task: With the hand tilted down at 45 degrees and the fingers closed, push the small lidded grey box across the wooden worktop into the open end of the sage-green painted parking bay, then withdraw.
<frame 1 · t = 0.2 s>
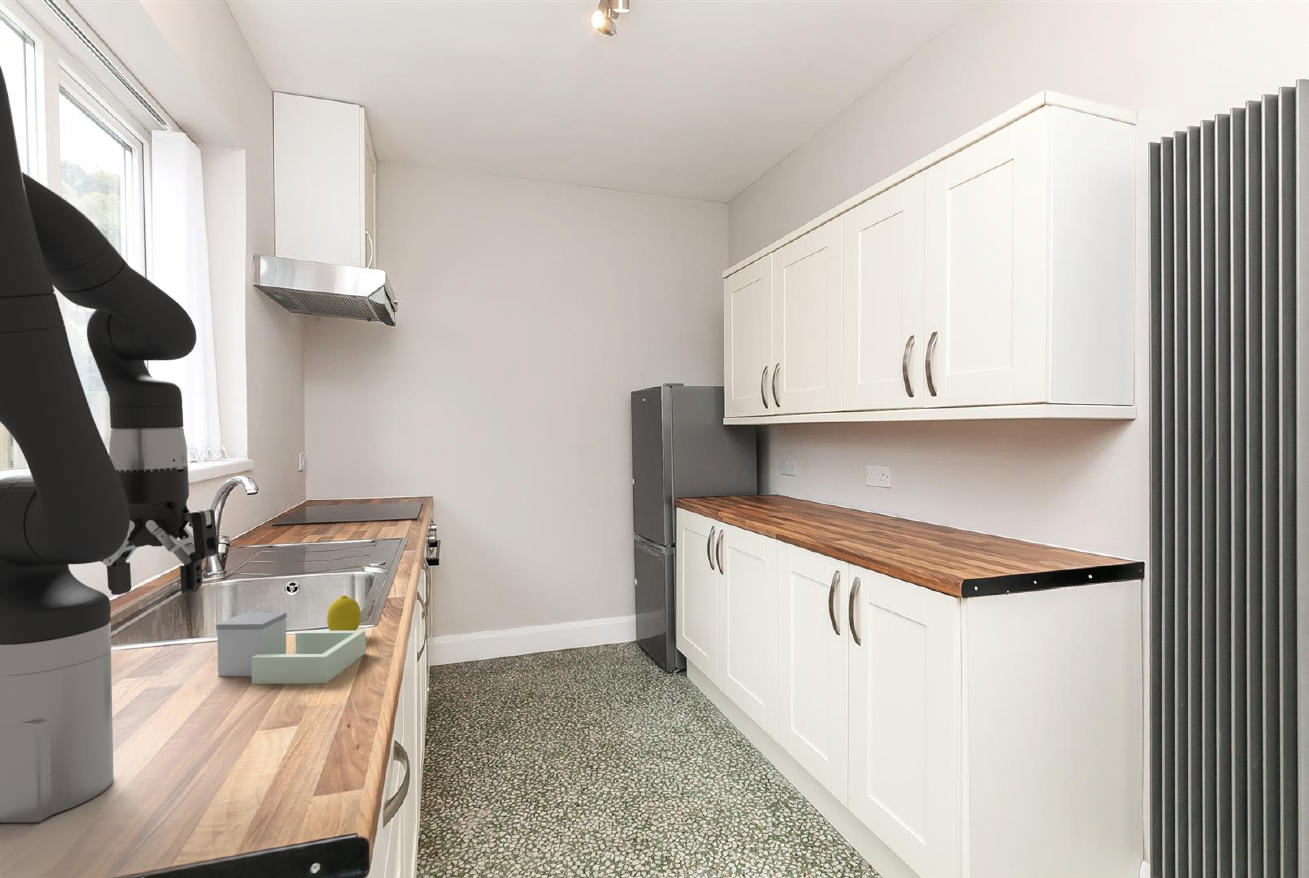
hand: (156, 592, 78), 17 cm above the counter, tool pointing down, fingers open, 8 cm apart
bay: (312, 668, 99), on the counter
lidded grey box: (253, 668, 99), on the counter
lemon: (344, 640, 113), on the counter
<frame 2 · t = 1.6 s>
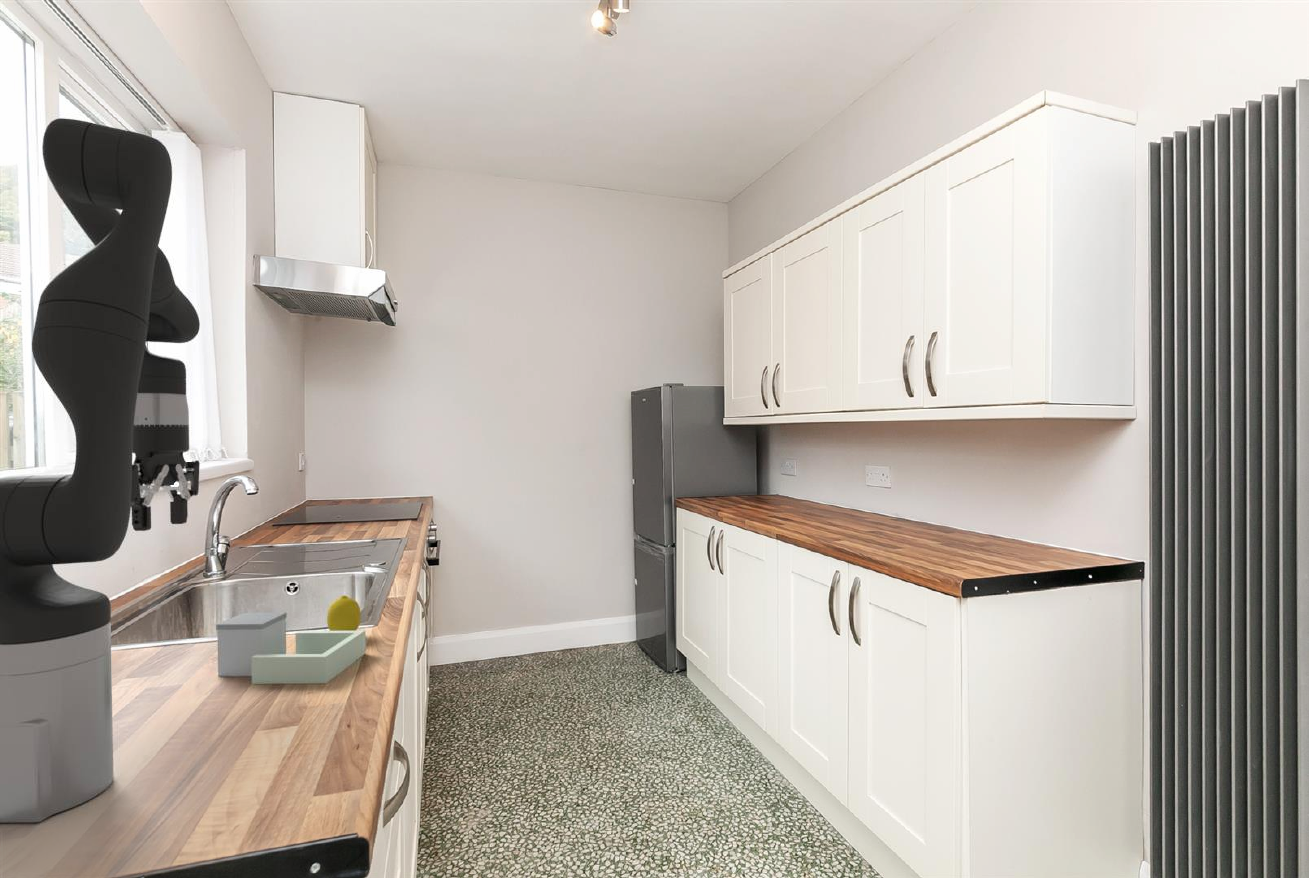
hand: (161, 526, 99), 23 cm above the counter, tool pointing down, fingers open, 6 cm apart
nothing on the counter moved.
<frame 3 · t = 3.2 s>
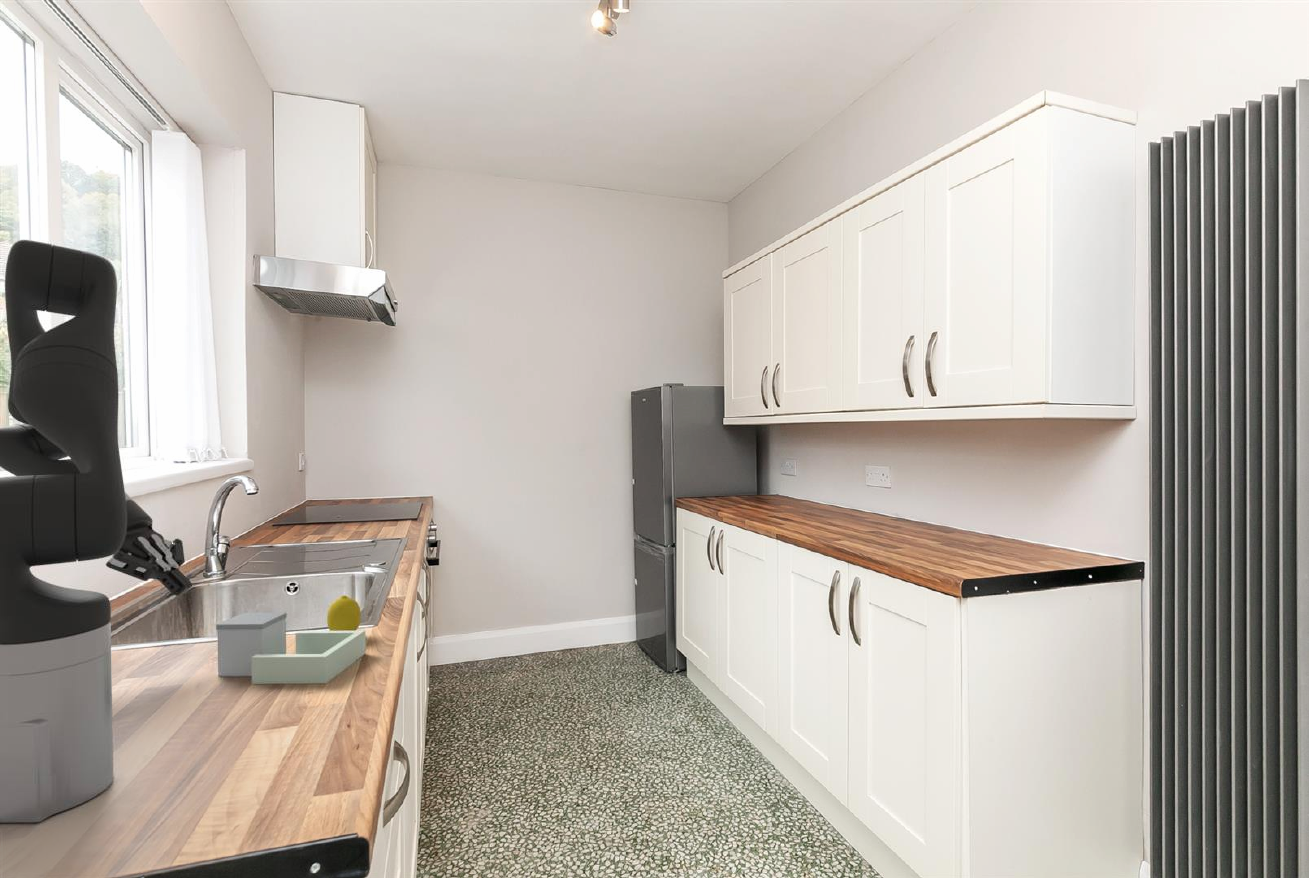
hand: (185, 591, 99), 12 cm above the counter, tool tilted 45°, fingers closed
nothing on the counter moved.
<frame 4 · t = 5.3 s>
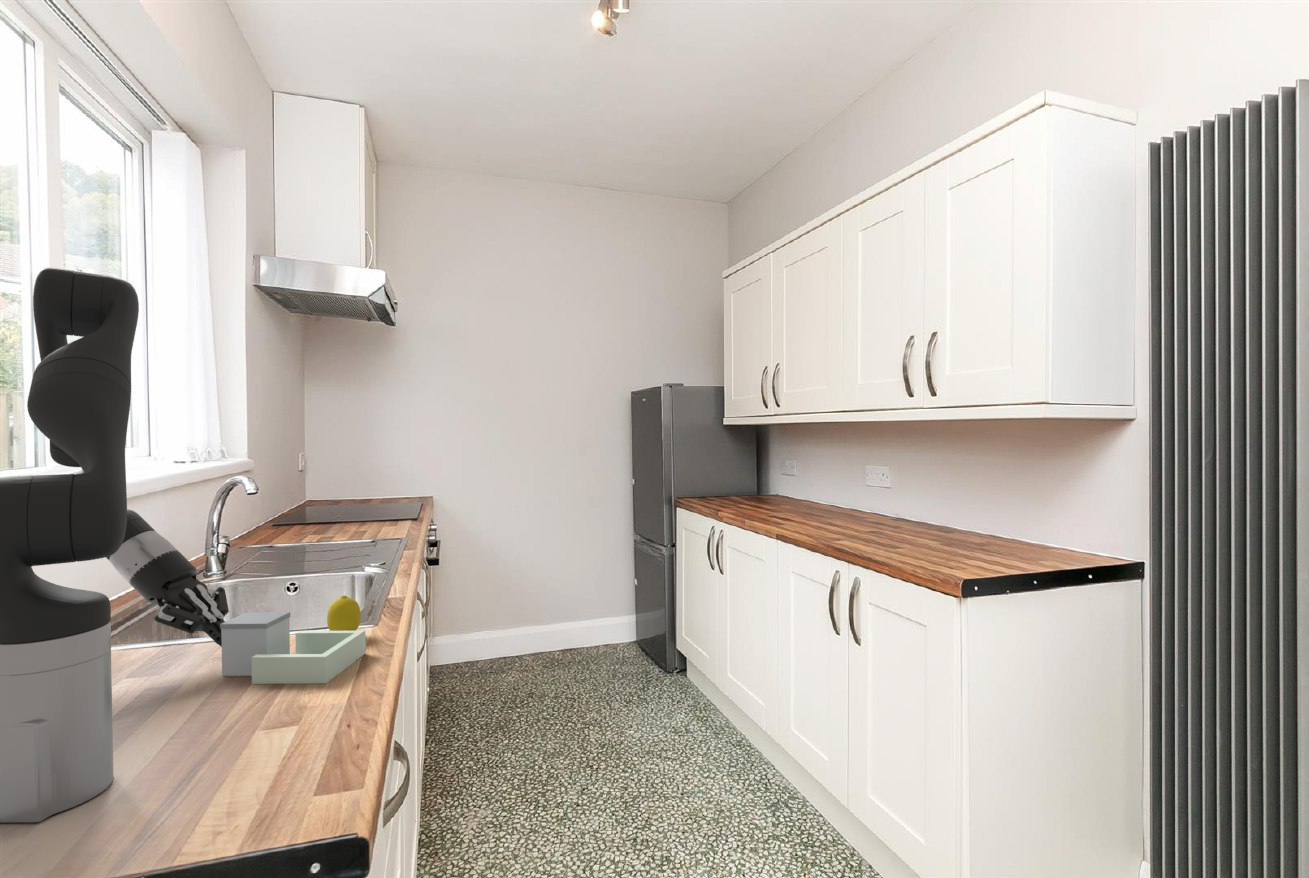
hand: (230, 642, 99), 4 cm above the counter, tool tilted 45°, fingers closed
lidded grey box: (257, 668, 99), on the counter, touching gripper
everything else where it was.
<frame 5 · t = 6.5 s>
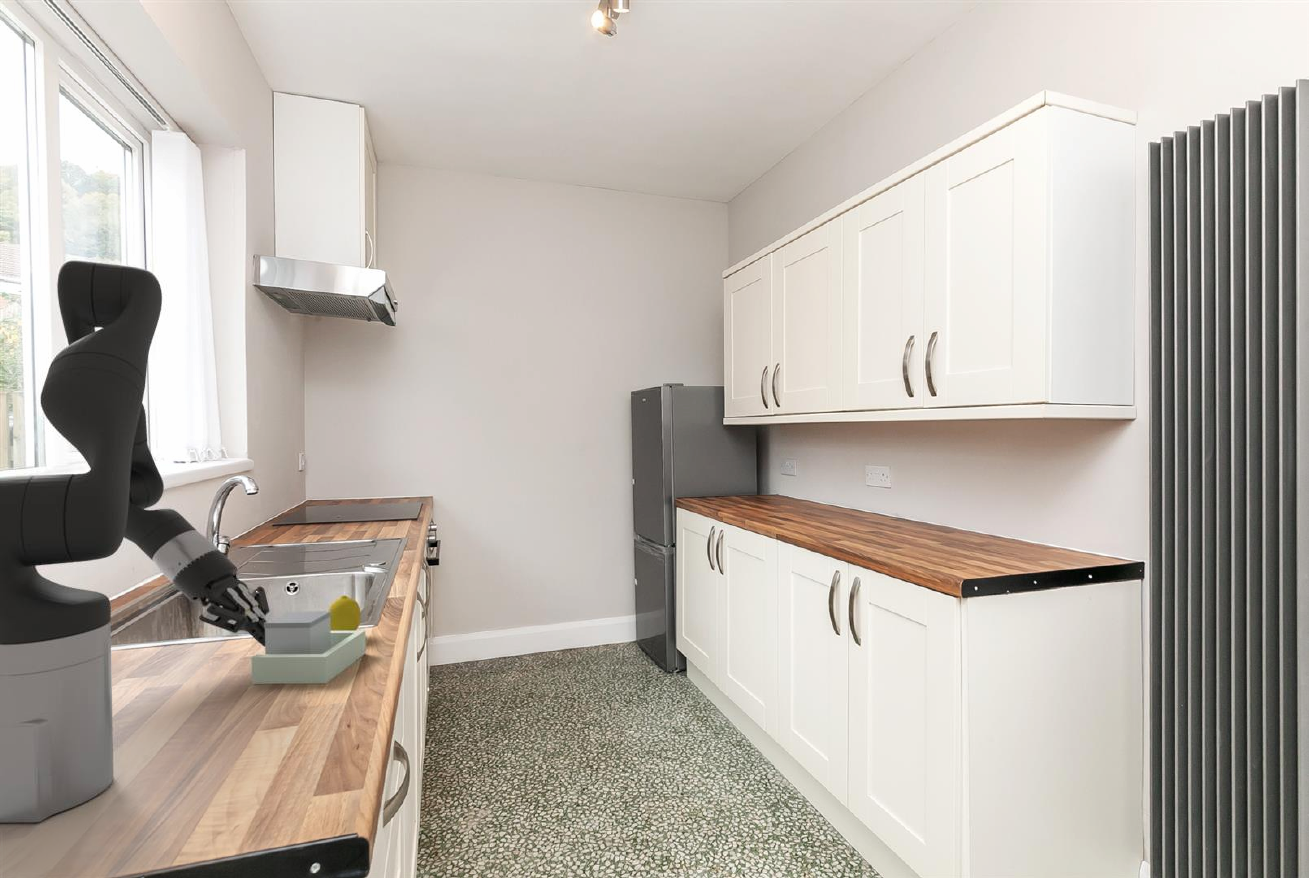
hand: (272, 641, 99), 4 cm above the counter, tool tilted 45°, fingers closed
lidded grey box: (299, 667, 99), on the counter, touching gripper
everything else where it was.
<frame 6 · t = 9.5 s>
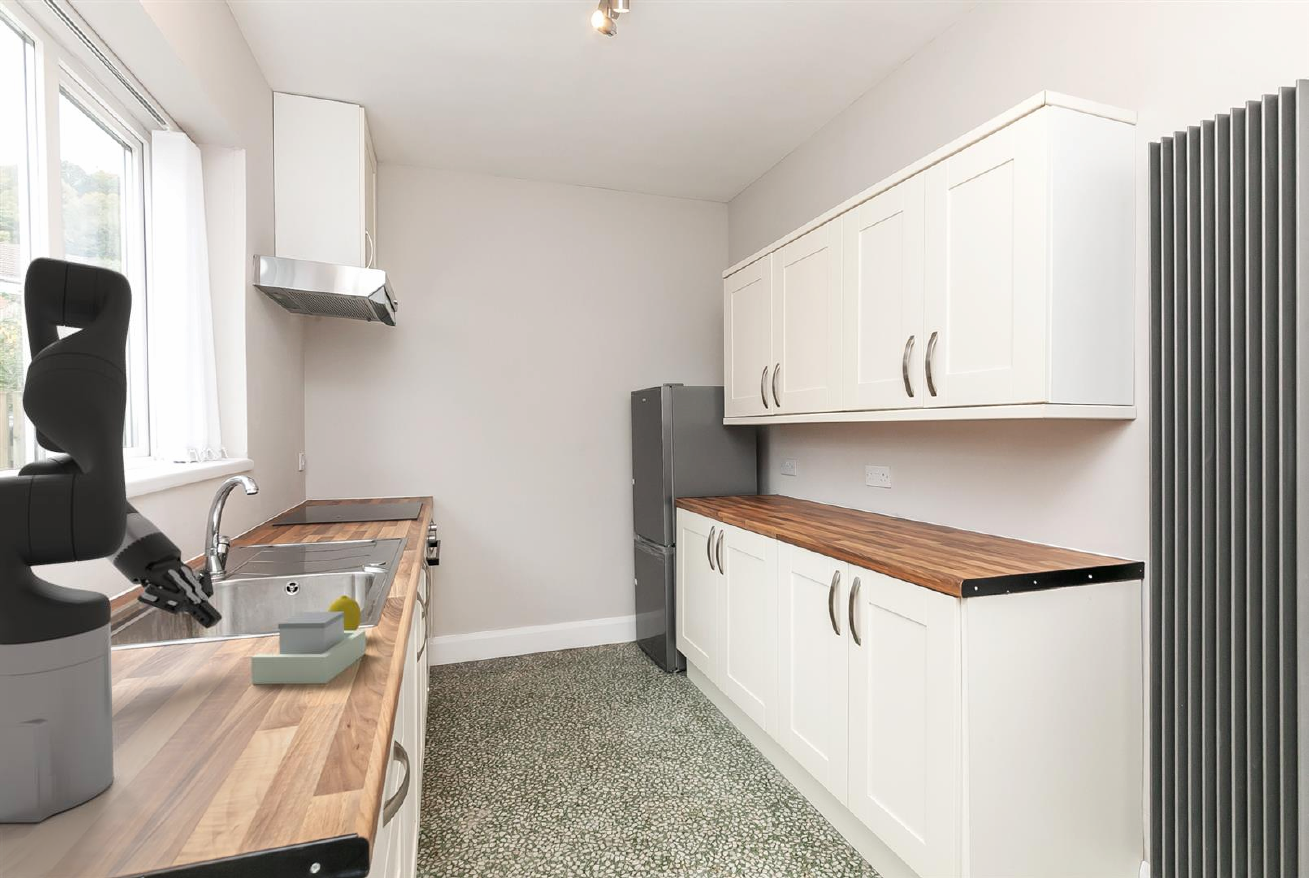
hand: (215, 623, 99), 7 cm above the counter, tool tilted 45°, fingers closed
lidded grey box: (312, 667, 99), on the counter
everything else where it was.
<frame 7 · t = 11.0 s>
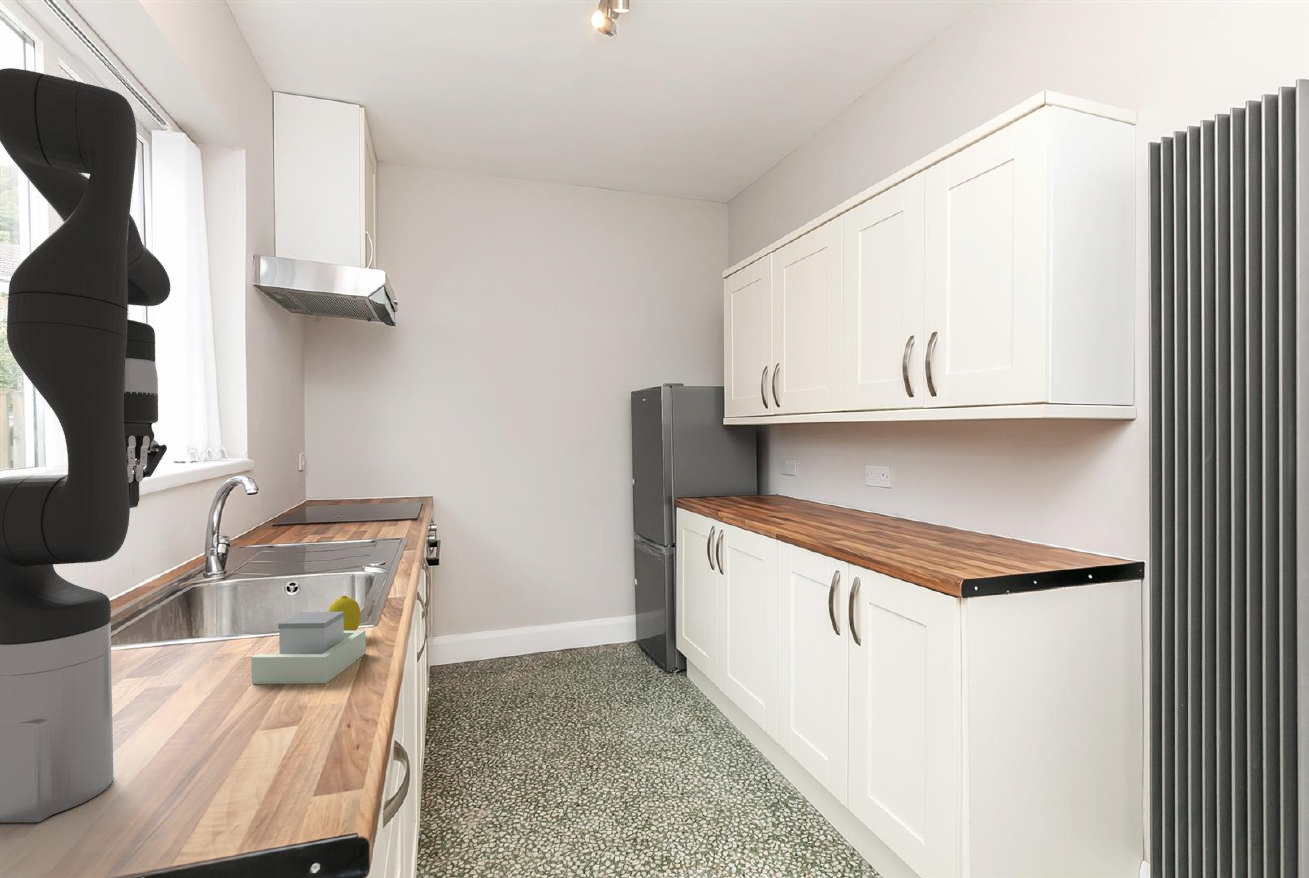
hand: (126, 507, 92), 27 cm above the counter, tool pointing down, fingers closed
nothing on the counter moved.
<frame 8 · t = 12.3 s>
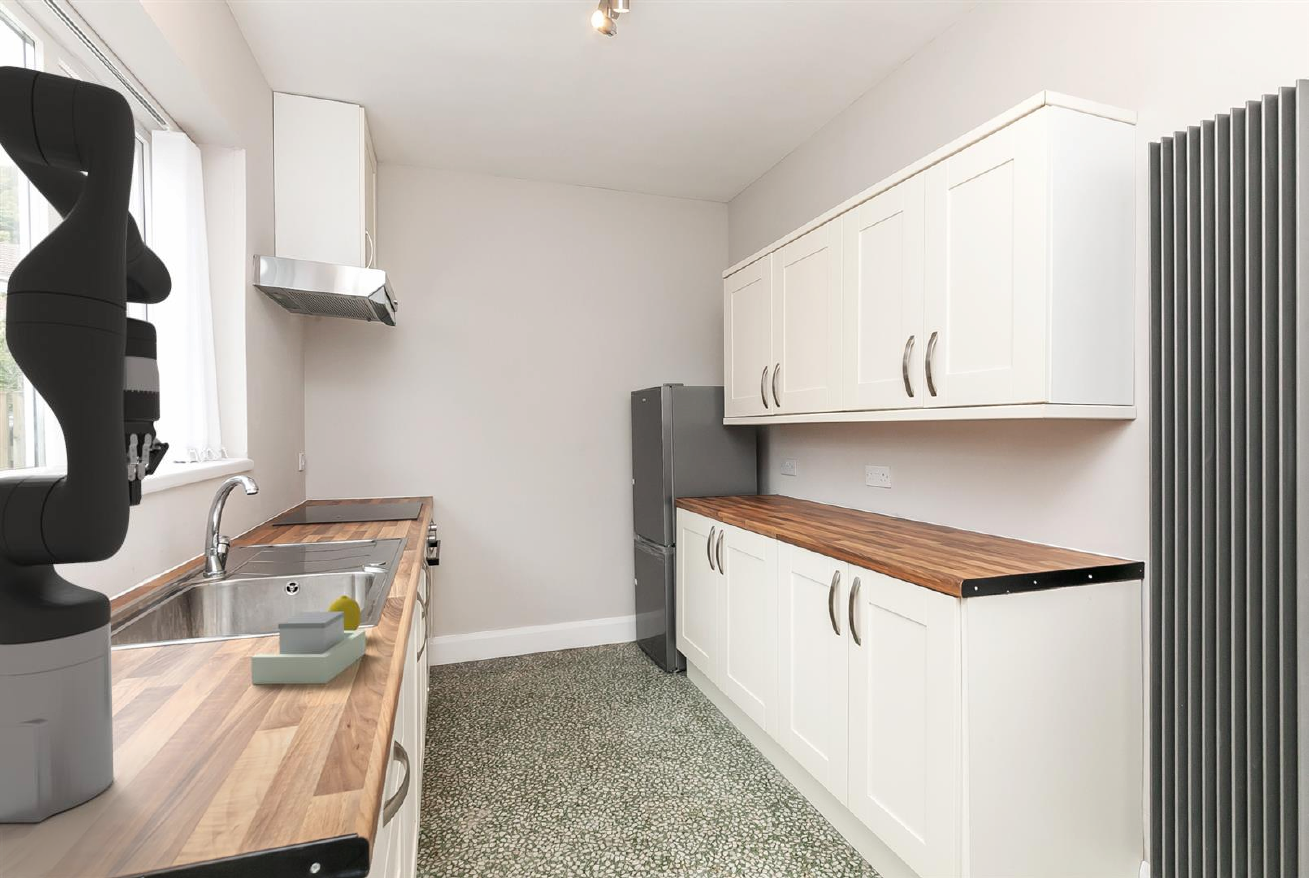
hand: (129, 505, 92), 27 cm above the counter, tool pointing down, fingers closed
nothing on the counter moved.
at the end: lidded grey box inside the target area on the bay (0.5 cm from its centre), point 0.0 cm above the bay's base; lidded grey box tilted 0°; the gripper is holding nothing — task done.
